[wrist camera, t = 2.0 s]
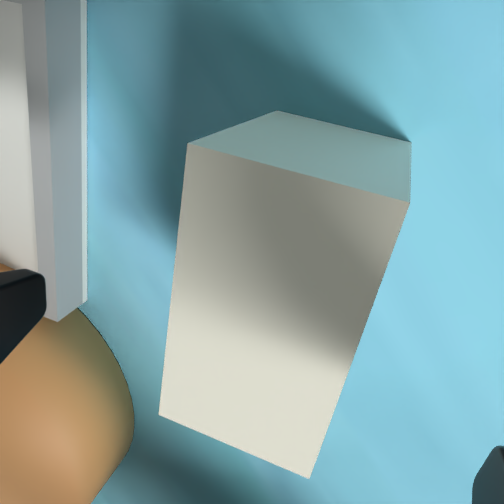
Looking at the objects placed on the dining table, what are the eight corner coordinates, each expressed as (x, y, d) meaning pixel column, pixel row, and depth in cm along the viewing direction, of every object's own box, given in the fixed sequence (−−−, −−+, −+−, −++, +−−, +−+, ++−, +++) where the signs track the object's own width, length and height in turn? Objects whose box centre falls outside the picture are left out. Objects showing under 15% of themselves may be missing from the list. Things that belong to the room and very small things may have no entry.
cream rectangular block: (411, 141, 12) (410, 203, 7) (344, 337, 15) (309, 479, 10) (277, 110, 13) (187, 142, 8) (240, 301, 16) (158, 414, 11)
